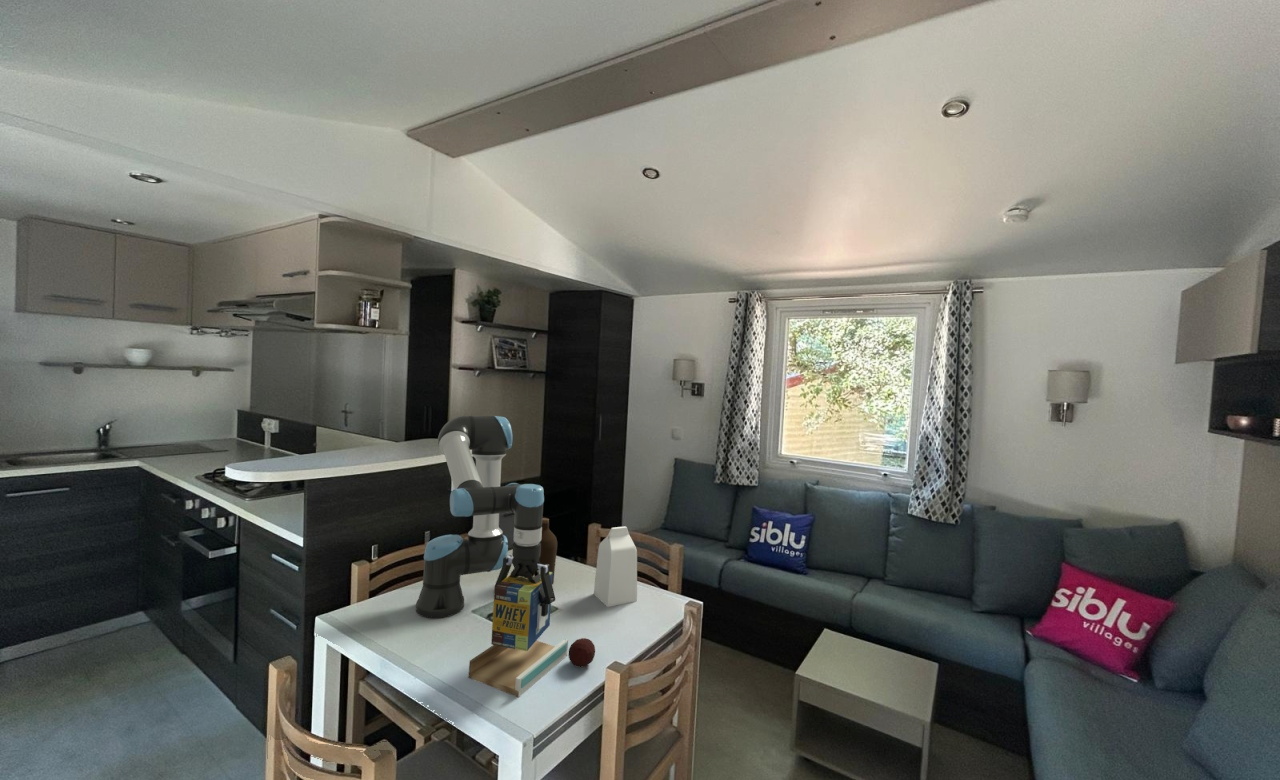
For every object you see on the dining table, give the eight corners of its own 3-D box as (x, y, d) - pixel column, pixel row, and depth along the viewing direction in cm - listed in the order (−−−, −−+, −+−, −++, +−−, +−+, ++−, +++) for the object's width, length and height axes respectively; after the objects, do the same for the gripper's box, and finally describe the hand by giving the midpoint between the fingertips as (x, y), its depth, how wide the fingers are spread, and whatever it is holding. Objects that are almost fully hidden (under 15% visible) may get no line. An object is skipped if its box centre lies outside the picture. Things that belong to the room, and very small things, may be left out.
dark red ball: (597, 660, 144) (599, 635, 144) (589, 675, 136) (590, 649, 136) (572, 655, 145) (574, 631, 145) (563, 670, 138) (565, 644, 138)
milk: (607, 606, 178) (612, 533, 177) (593, 594, 188) (597, 524, 187) (636, 601, 184) (641, 530, 183) (621, 589, 194) (626, 521, 193)
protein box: (490, 645, 132) (493, 586, 132) (517, 619, 147) (520, 566, 147) (527, 652, 129) (530, 592, 129) (550, 625, 145) (553, 571, 144)
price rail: (514, 695, 125) (515, 677, 125) (563, 654, 145) (564, 639, 145) (519, 697, 125) (520, 679, 125) (567, 655, 145) (568, 640, 145)
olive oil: (551, 590, 189) (555, 523, 189) (523, 587, 189) (527, 521, 189) (557, 579, 200) (561, 516, 199) (531, 576, 200) (534, 514, 200)
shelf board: (468, 677, 132) (468, 671, 132) (521, 640, 152) (521, 635, 152) (518, 697, 125) (518, 691, 125) (566, 655, 145) (567, 650, 145)
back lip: (468, 677, 132) (469, 660, 132) (521, 640, 152) (522, 625, 152) (471, 678, 131) (472, 661, 131) (524, 641, 151) (525, 626, 151)
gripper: (483, 537, 139) (479, 616, 140) (555, 554, 130) (550, 638, 130) (501, 531, 146) (497, 606, 146) (571, 546, 136) (566, 626, 137)
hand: (522, 621), depth 138 cm, fingers closed on protein box, 11 cm apart
